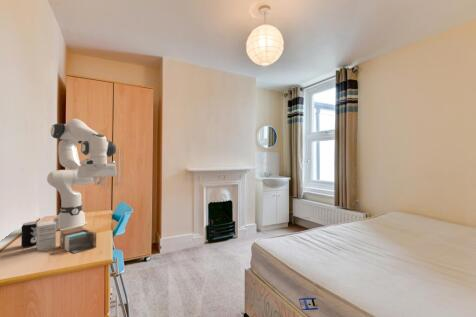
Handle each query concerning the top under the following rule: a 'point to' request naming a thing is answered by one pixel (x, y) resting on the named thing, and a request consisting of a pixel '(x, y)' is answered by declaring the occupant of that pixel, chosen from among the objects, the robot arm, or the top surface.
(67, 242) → the boxed book
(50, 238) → the supplement box
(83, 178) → the robot arm
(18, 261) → the top surface
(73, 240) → the book stack with bookend
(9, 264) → the top surface
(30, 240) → the beverage can
